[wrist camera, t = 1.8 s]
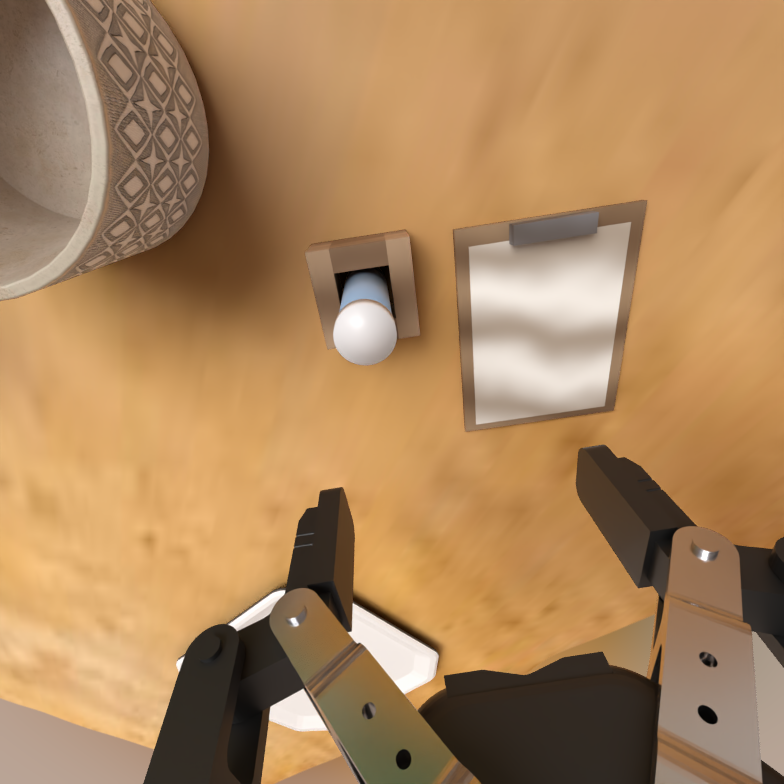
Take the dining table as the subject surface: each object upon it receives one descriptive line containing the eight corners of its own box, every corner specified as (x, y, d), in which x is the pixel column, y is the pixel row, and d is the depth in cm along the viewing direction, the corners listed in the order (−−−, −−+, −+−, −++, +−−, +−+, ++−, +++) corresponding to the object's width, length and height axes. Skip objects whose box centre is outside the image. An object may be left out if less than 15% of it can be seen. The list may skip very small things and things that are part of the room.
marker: (340, 265, 30) (327, 310, 21) (384, 258, 30) (392, 301, 21) (348, 308, 32) (340, 369, 22) (390, 301, 32) (400, 360, 22)
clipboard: (452, 229, 30) (457, 232, 28) (643, 200, 29) (656, 201, 28) (464, 428, 38) (468, 438, 37) (610, 407, 38) (620, 416, 37)
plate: (456, 650, 58) (459, 667, 56) (319, 724, 66) (318, 740, 64) (303, 557, 47) (300, 574, 45) (162, 660, 55) (155, 678, 53)
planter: (228, 261, 30) (146, 316, 19) (-10, 242, 28) (-250, 290, 17) (197, -45, 22) (25, -261, 11) (-135, -93, 21) (-720, -398, 10)
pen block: (311, 244, 30) (304, 252, 27) (405, 229, 29) (409, 236, 26) (331, 332, 33) (327, 349, 30) (415, 320, 33) (420, 335, 30)
